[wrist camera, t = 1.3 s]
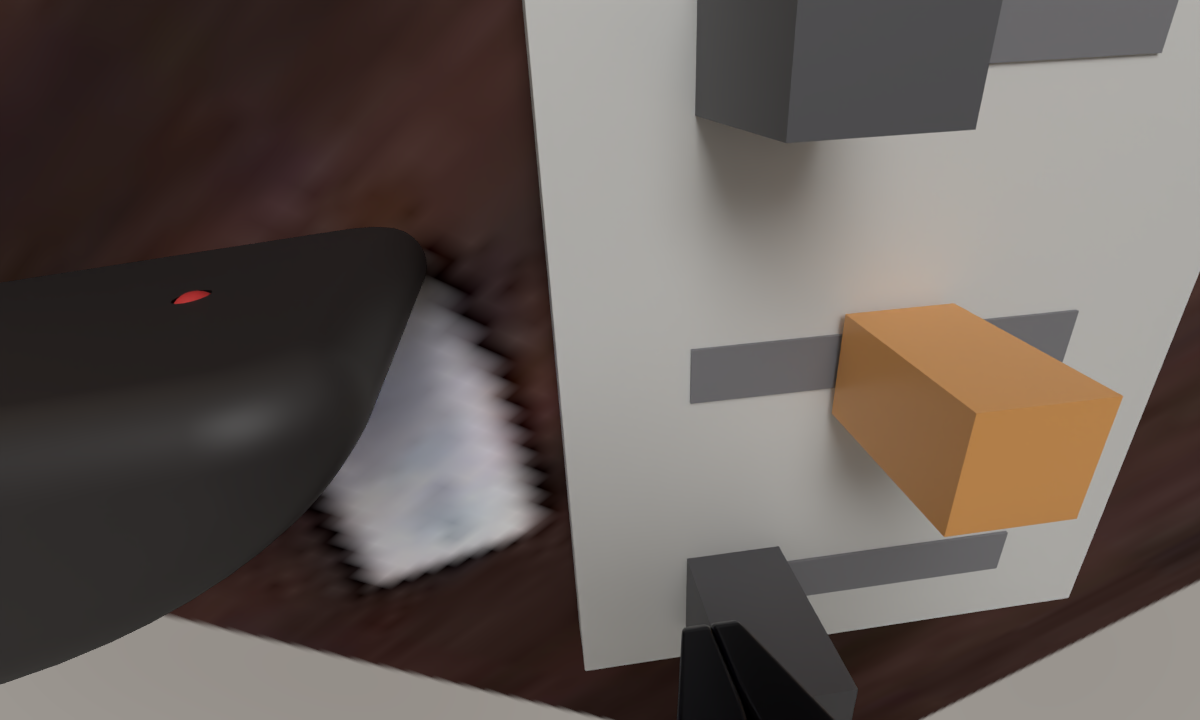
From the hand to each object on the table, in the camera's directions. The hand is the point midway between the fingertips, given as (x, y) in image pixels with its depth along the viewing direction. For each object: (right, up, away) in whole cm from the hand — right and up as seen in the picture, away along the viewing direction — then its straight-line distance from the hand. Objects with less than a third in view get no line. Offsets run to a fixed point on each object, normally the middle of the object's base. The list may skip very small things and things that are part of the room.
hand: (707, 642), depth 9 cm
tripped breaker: (+6, +4, +8) cm, 11 cm away
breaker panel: (+6, +5, +10) cm, 13 cm away
